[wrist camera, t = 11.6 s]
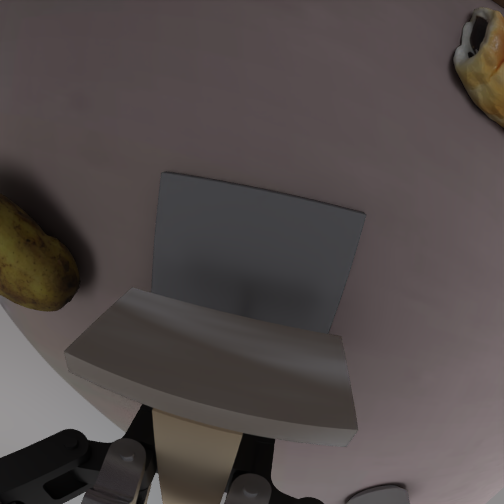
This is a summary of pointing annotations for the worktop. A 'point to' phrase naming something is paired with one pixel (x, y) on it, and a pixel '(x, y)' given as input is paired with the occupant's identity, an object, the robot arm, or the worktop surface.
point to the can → (381, 496)
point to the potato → (33, 262)
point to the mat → (252, 251)
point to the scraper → (215, 384)
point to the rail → (500, 2)
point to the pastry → (483, 62)
